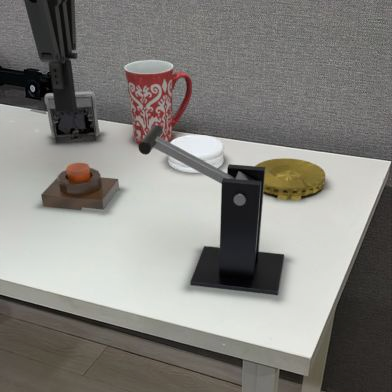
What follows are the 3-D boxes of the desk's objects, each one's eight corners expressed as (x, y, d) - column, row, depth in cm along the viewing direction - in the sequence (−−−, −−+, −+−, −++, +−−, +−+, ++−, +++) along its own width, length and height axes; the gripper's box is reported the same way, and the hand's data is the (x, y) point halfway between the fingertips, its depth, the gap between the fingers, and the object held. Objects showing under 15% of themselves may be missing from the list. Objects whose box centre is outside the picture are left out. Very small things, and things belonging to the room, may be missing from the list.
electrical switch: (100, 134, 112) (94, 87, 106) (101, 147, 109) (95, 98, 102) (52, 137, 111) (43, 90, 105) (52, 150, 108) (43, 101, 101)
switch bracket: (190, 289, 71) (189, 186, 62) (204, 253, 78) (204, 155, 69) (277, 299, 69) (288, 195, 60) (283, 261, 76) (294, 162, 67)
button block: (43, 207, 88) (38, 183, 86) (62, 186, 94) (58, 163, 92) (103, 213, 87) (100, 189, 84) (119, 191, 93) (117, 168, 90)
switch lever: (135, 154, 63) (142, 135, 61) (148, 137, 67) (155, 118, 65) (245, 213, 65) (255, 196, 63) (251, 192, 69) (261, 176, 67)
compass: (237, 184, 95) (237, 171, 93) (283, 164, 101) (284, 152, 99) (291, 208, 88) (293, 195, 86) (338, 185, 94) (340, 173, 93)
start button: (64, 181, 87) (62, 170, 86) (72, 172, 90) (71, 161, 89) (86, 183, 86) (84, 172, 85) (94, 174, 89) (92, 163, 88)
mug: (135, 152, 106) (130, 74, 97) (125, 135, 112) (119, 61, 103) (199, 144, 109) (199, 68, 100) (185, 128, 115) (184, 56, 106)
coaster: (191, 179, 96) (191, 159, 94) (157, 161, 102) (156, 142, 100) (234, 164, 101) (235, 145, 99) (199, 148, 107) (199, 129, 104)
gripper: (45, -94, 61) (74, 127, 76) (87, -99, 70) (105, 98, 86) (-19, -96, 62) (22, 122, 77) (31, -101, 71) (59, 94, 87)
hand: (66, 109), depth 81 cm, fingers closed
